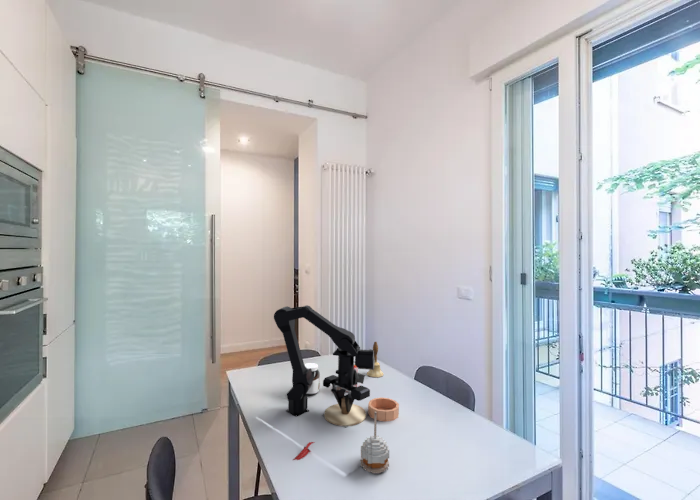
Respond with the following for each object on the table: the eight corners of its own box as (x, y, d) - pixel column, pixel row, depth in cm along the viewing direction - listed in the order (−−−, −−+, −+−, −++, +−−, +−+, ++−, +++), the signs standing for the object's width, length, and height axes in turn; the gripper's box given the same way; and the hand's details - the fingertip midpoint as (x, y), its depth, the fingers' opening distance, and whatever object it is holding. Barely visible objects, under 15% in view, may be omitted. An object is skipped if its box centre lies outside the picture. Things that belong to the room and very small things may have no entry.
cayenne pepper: (317, 441, 105) (317, 435, 105) (326, 447, 101) (326, 441, 101) (284, 456, 97) (284, 450, 97) (293, 464, 93) (293, 457, 93)
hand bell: (363, 372, 165) (364, 340, 165) (378, 370, 168) (378, 339, 168) (371, 378, 157) (372, 345, 157) (386, 376, 161) (387, 343, 161)
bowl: (386, 426, 114) (386, 414, 114) (362, 415, 121) (362, 404, 121) (404, 415, 122) (404, 404, 122) (380, 405, 129) (380, 395, 129)
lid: (345, 431, 109) (346, 412, 109) (315, 415, 119) (316, 398, 119) (374, 415, 120) (374, 398, 120) (344, 402, 130) (344, 386, 130)
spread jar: (314, 399, 134) (315, 370, 134) (288, 396, 136) (288, 368, 136) (322, 387, 146) (323, 361, 146) (298, 385, 148) (299, 359, 148)
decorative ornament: (386, 457, 96) (387, 405, 97) (390, 475, 89) (391, 419, 89) (359, 457, 96) (360, 405, 96) (361, 475, 88) (362, 419, 89)
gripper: (379, 368, 119) (379, 411, 119) (343, 356, 132) (342, 396, 132) (359, 376, 111) (358, 423, 111) (322, 363, 124) (321, 405, 124)
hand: (345, 410), depth 120 cm, fingers closed on lid, 3 cm apart
